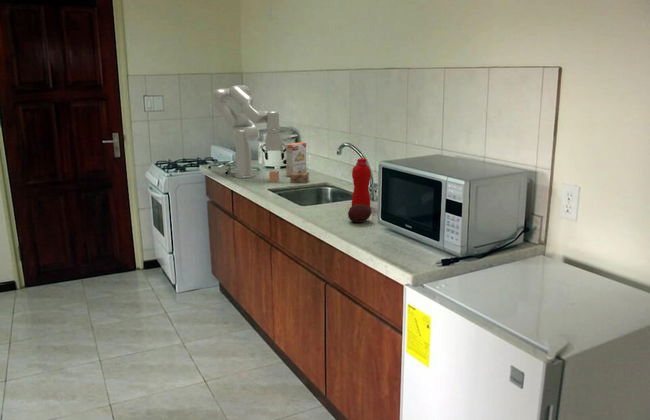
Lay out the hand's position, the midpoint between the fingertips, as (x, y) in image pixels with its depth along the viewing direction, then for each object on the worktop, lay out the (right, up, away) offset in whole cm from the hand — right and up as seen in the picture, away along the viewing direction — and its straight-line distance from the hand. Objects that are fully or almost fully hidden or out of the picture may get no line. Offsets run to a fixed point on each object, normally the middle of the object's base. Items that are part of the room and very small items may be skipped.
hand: (274, 159), depth 327 cm
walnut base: (+15, -13, +2) cm, 20 cm away
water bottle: (+48, -30, -61) cm, 83 cm away
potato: (+47, -37, -85) cm, 104 cm away
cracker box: (+12, -8, +22) cm, 27 cm away
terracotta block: (-1, -13, +4) cm, 14 cm away
